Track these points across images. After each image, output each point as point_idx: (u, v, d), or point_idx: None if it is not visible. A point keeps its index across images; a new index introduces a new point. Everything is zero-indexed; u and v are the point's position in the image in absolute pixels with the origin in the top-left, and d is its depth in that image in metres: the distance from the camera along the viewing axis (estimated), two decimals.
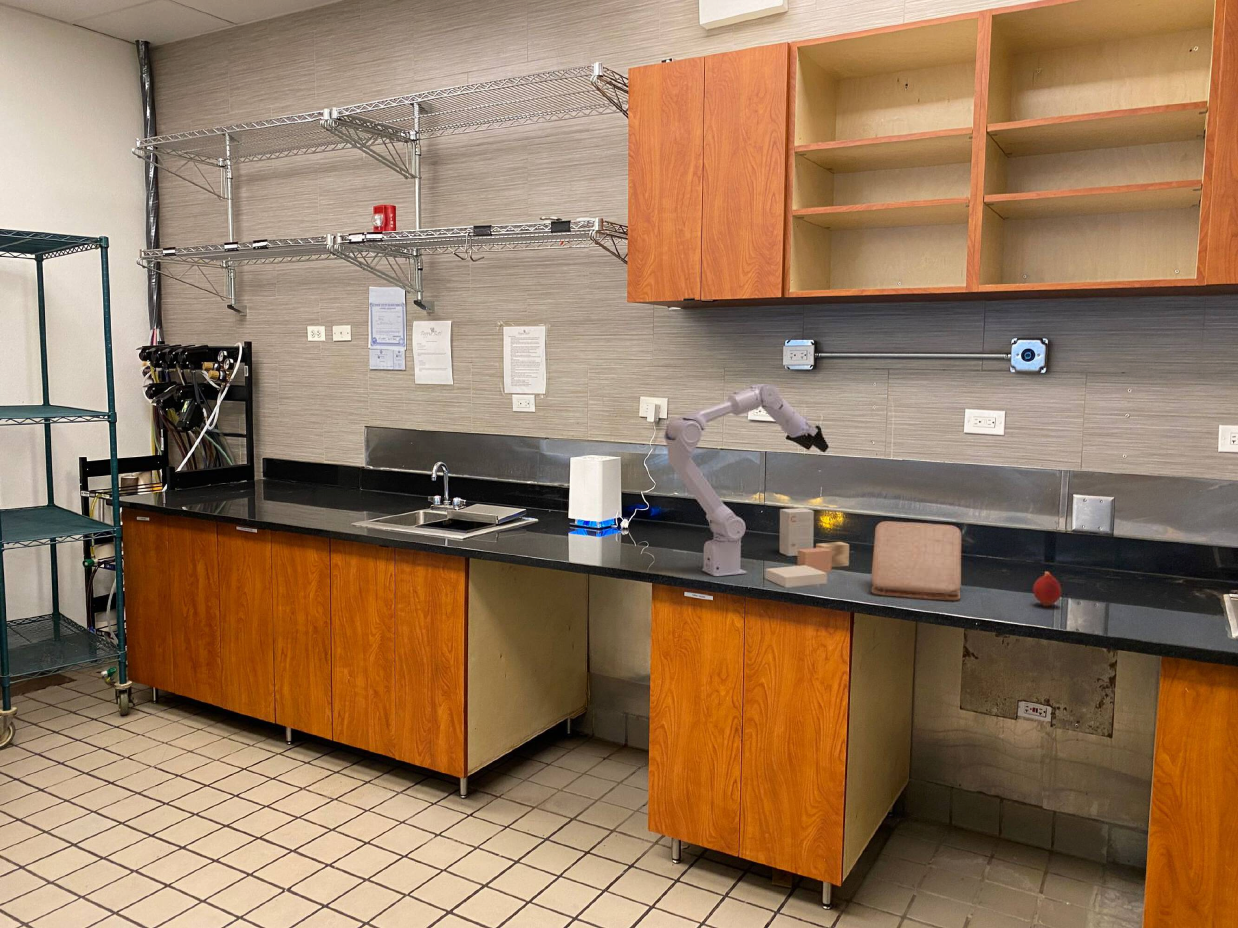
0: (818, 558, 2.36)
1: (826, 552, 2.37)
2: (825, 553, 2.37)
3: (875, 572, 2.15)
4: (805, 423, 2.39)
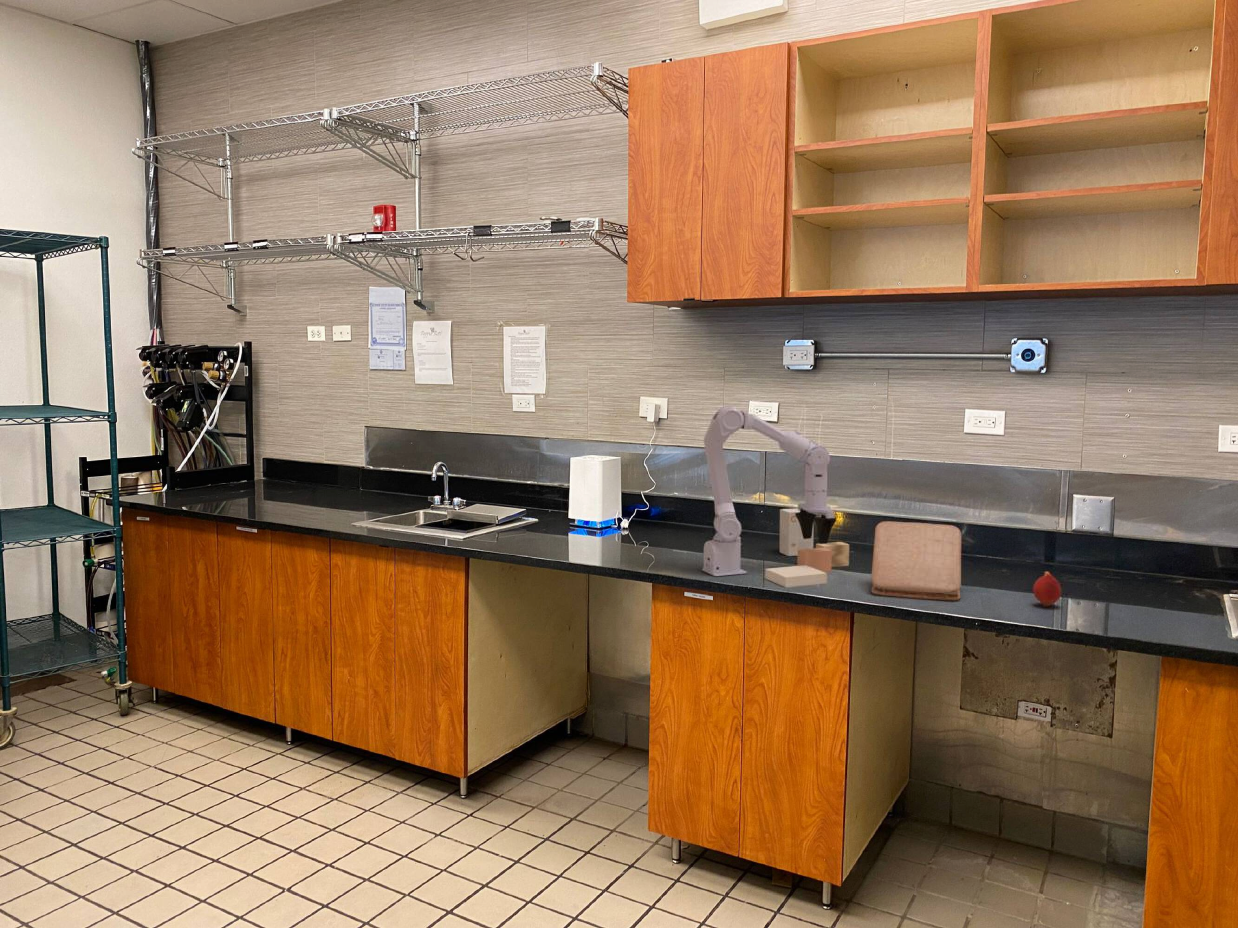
0: (818, 558, 2.36)
1: (826, 552, 2.37)
2: (825, 553, 2.37)
3: (875, 572, 2.15)
4: (826, 508, 2.35)
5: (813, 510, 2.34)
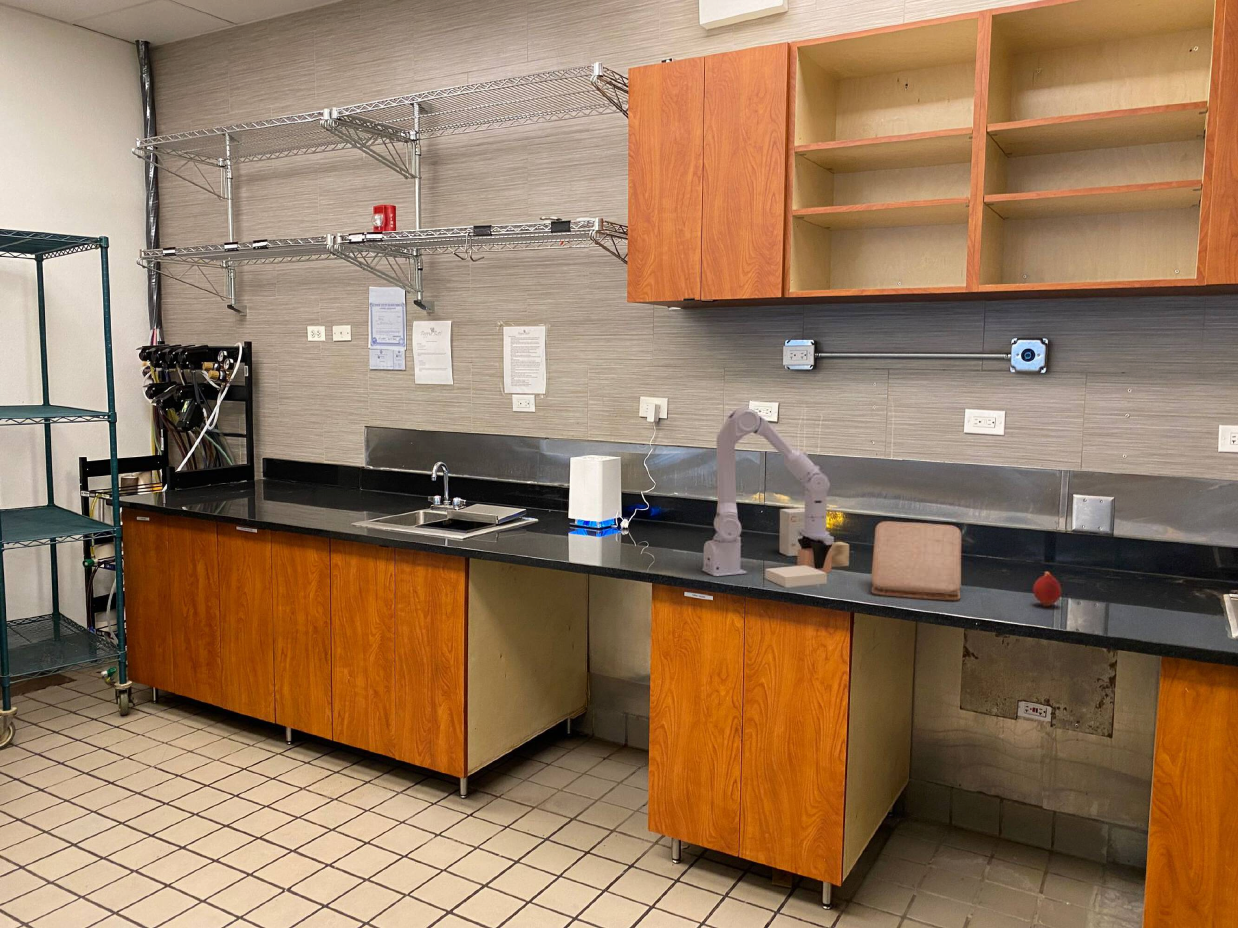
0: None
1: None
2: None
3: (875, 572, 2.15)
4: (825, 534, 2.36)
5: (812, 536, 2.34)
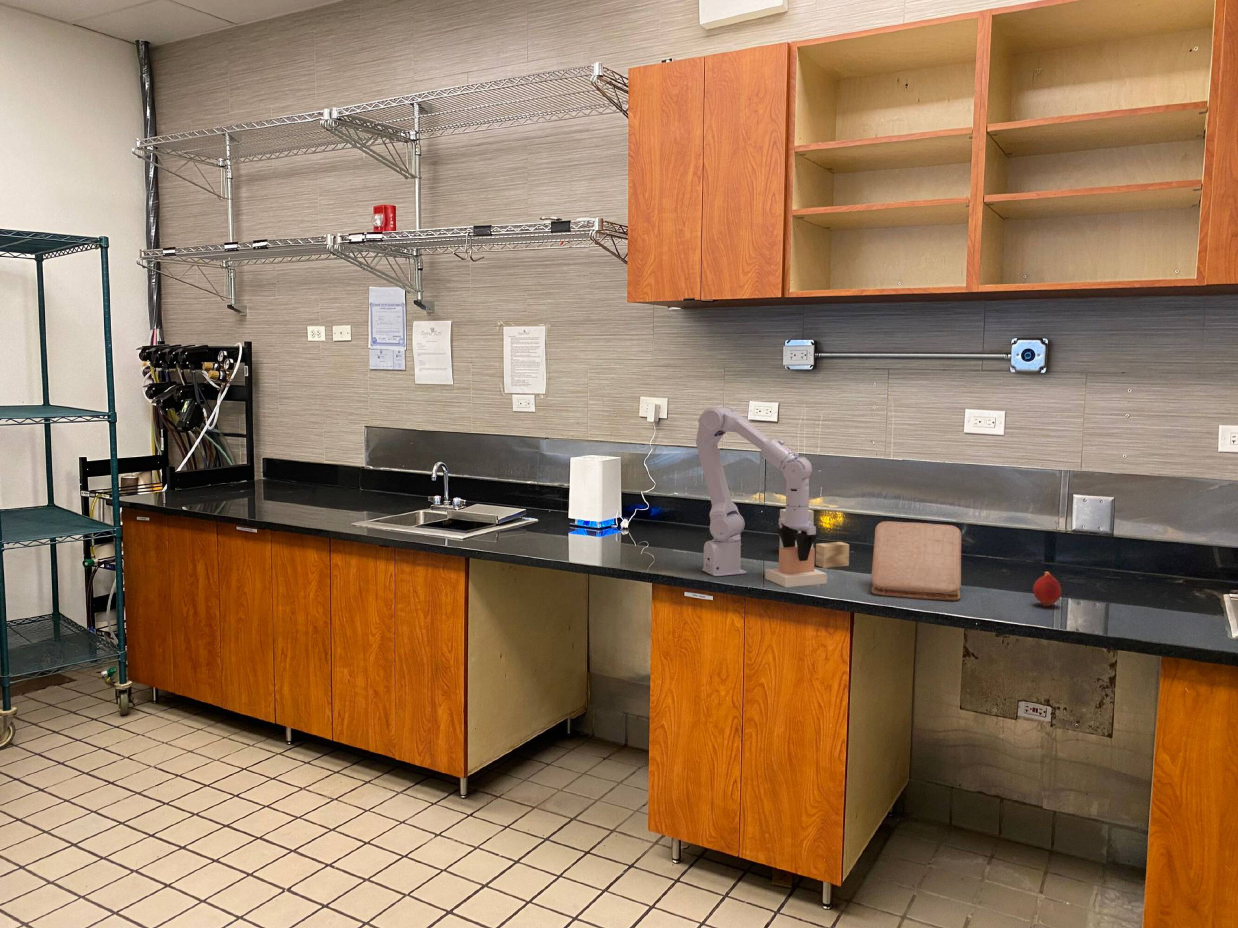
0: None
1: None
2: None
3: (875, 572, 2.15)
4: (807, 524, 2.25)
5: (794, 526, 2.24)
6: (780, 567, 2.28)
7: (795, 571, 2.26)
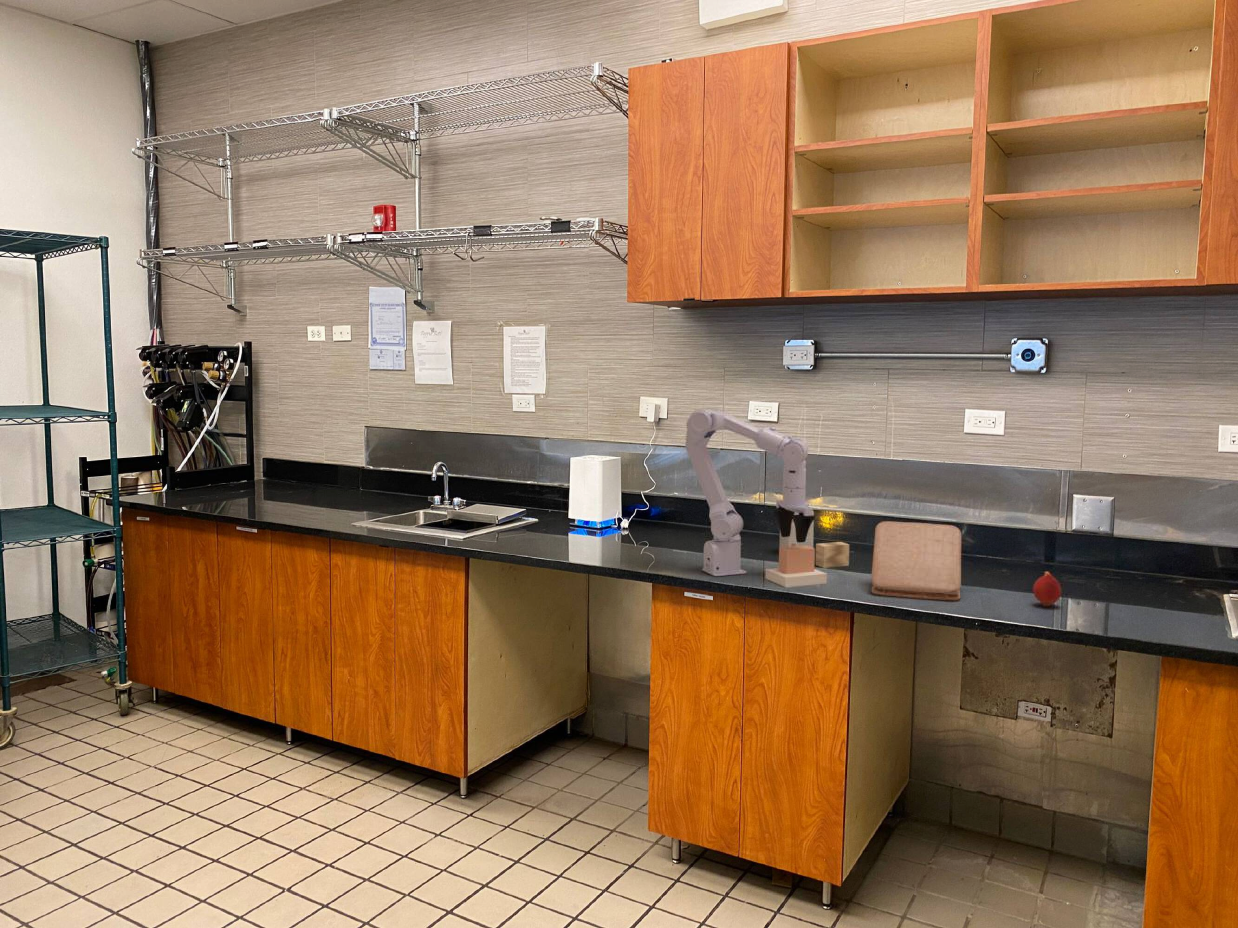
0: (800, 556, 2.26)
1: (809, 550, 2.27)
2: (808, 551, 2.27)
3: (875, 572, 2.15)
4: (804, 505, 2.27)
5: (791, 507, 2.26)
6: (780, 567, 2.28)
7: (795, 571, 2.26)
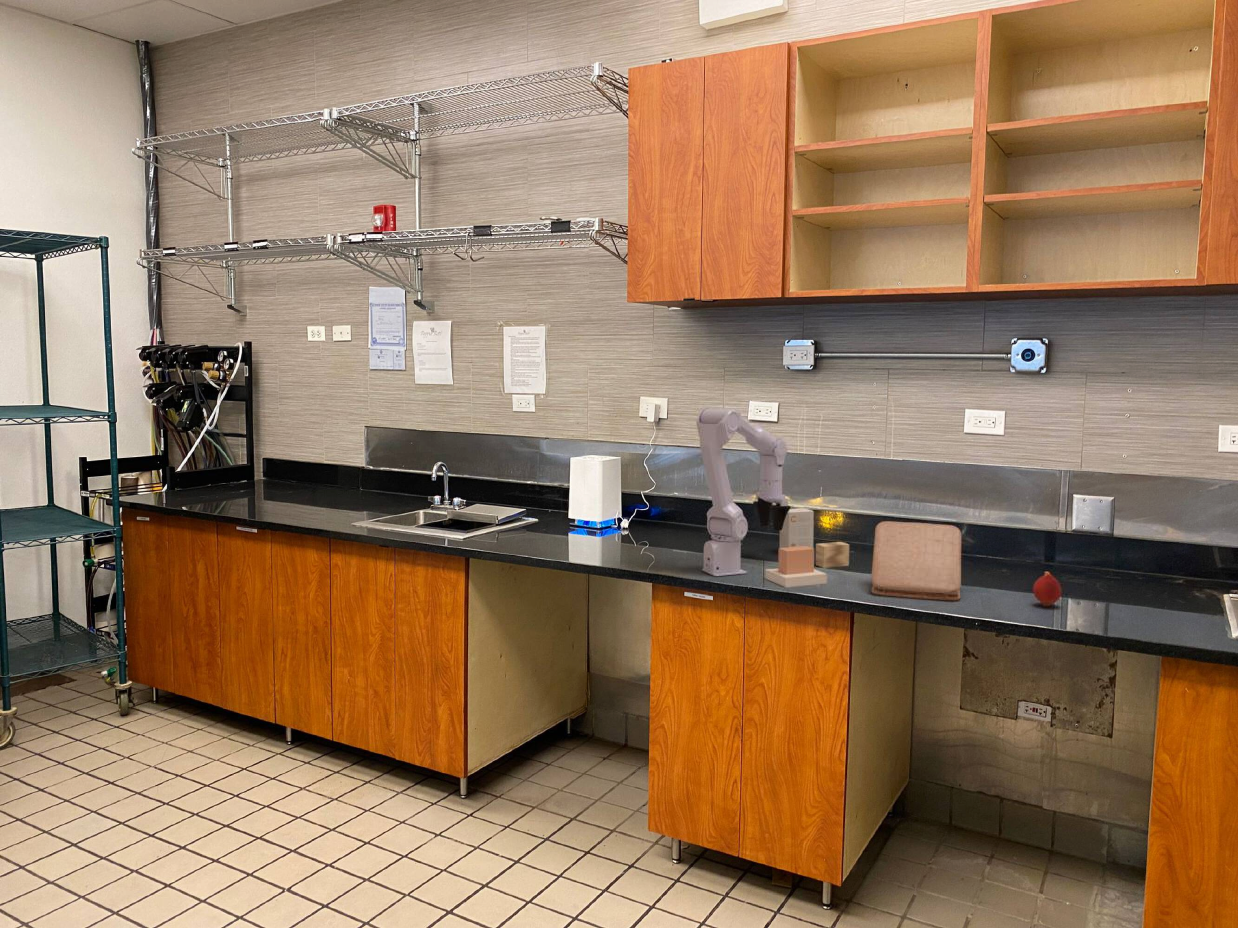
0: (799, 557, 2.26)
1: (808, 551, 2.27)
2: (807, 552, 2.27)
3: (875, 572, 2.15)
4: (781, 497, 2.48)
5: (769, 498, 2.47)
6: (780, 567, 2.28)
7: (795, 571, 2.26)
